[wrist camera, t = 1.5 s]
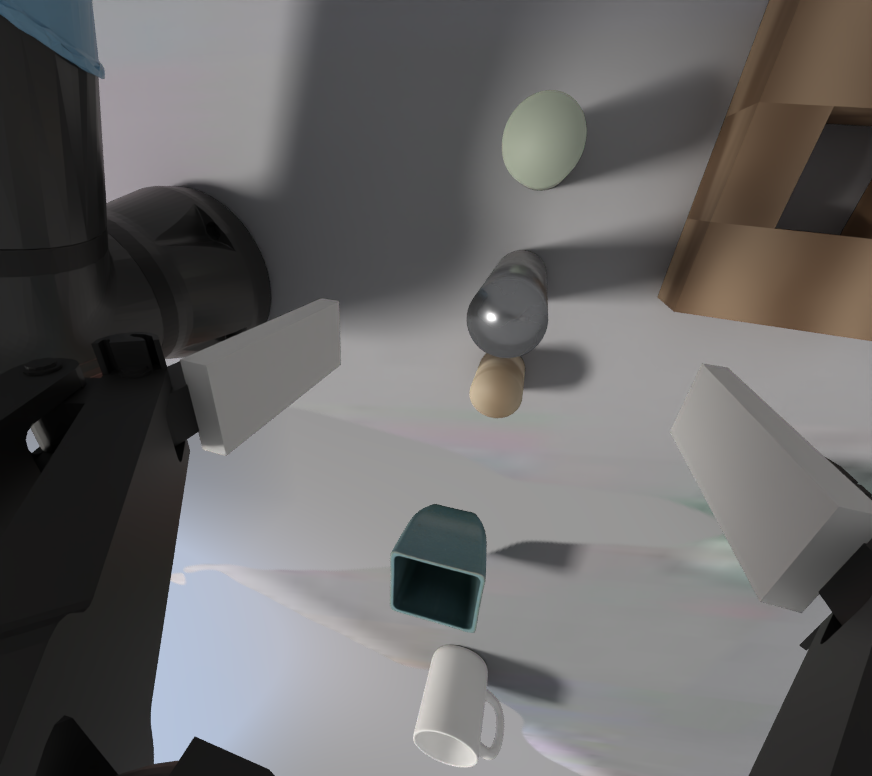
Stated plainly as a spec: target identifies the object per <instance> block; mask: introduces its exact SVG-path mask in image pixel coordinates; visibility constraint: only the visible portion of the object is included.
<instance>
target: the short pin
mask: <svg viewBox="0 0 872 776" xmlns="http://www.w3.org/2000/svg"><path fill="white" fill-rule="evenodd" d="M524 377H525V365H524V362H523V360H522V358H521V357H520V356H519V357H515V358H499V357H495V356H492V355H490V354H488V353H486V354H485V355H484V357H483V358H482V360H481V362H480V364H479V367H478V370H477V372H476V375H475V377H474V380H473V382H472V385H471V387H470V399H471V402H472V404H473V406H474V407H475V408H476V409H477V410H478V411H479V412H480V413H482V414H483V415H485V416H488V417H492V418H503V417H507V416H509V415H511V414H513V413H514V412H515V411H516V410H517V409H518V408H519V406H520V404H521V401H522V395H523V386H524Z"/></svg>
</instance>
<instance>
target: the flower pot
mask: <svg viewBox="0 0 872 776" xmlns="http://www.w3.org/2000/svg"><path fill="white" fill-rule="evenodd" d="M390 567H391V572H390V573H391V580H390V581H391V585H390V607H391V609H392V610H394V611H397V612H400V613H404V614H407V615H410V616H414V617H418V618H421V619H425V620H428V621H431V622H435V623H438V624H442V625H446V626H449V627H452V628H455V629H459V630H462V631H465V632H470V633H474V632H475V631H476V625H477V620H478V614H479V608H480V603H481V598H482V593H483V588H484V585H485V577H486V534H485V530H484V527H483V524H482V523H481V521H480V519H479V518H478V517H477V515H476V514H474V513H472V512H467V511H463V510H458V509H454V508H450V507H445V506H442V505H437V504H433V505H430V506H428V507H425V508H423V509H422V510H420V511H419V512H418V513H416V514H415V515H414V516H413V517H412V519H411V520H410V522H409V523H408V525H407V526H406V528H405V530H404V532H403V533H402V535H401V536H400V538H399V540H398V542H397V544H396V545H395V547H394V549H393V550H392V552H391V556H390Z"/></svg>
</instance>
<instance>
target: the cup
mask: <svg viewBox="0 0 872 776" xmlns="http://www.w3.org/2000/svg"><path fill="white" fill-rule="evenodd" d="M487 680H488V669H487V666H486V663H485V662H484V660H483V659H482V658H481V657H480V656H479V655H478V654H476V653H475V652H473V651H471V650H469V649H467V648H464V647H461V646H456V645H445V646H442V647H440V648H438V649H437V650H436V652H435V653H434V655H433V658H432V661H431V665H430V669H429V673H428V678H427V682H426V686H425V690H424V694H423V698H422V702H421V707H420V710H419V715H418V719H417V723H416V727H415V731H414V735H413V740H414V742H415V744H416V745H417V747H418V748H419V749H420V750H421V751H422V752H424V753H425V754H426V755H428V756H430V757H431V758H433V759H435V760H437V761H439V762H442V763H444V764H447V765H451V766H455V767H472V766H474V765H475V764H476V763H477V762H478V757H479V756H480V757H482V758H483V759H486V760H493V759H494V758H495V757H496V756H497V755H498V753H499V751H500V748H501V745H502V741H503V735H504V716H503V711H502V708H501V705H500V703H499V701H498V699H497V698H496V697H495V696H494V694H492V693H491V692H490V691H489V690H487ZM485 701H487V702H488V703H490V704H491V705H492V707H493V708H494V711H495V714H496V733H495V738H494V741H493V744H492V746H491V747H490V748H488V747H487V746H485V745H484V744H482V743H481V742H480V739H481V732H482V723H483V715H484V705H485Z"/></svg>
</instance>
